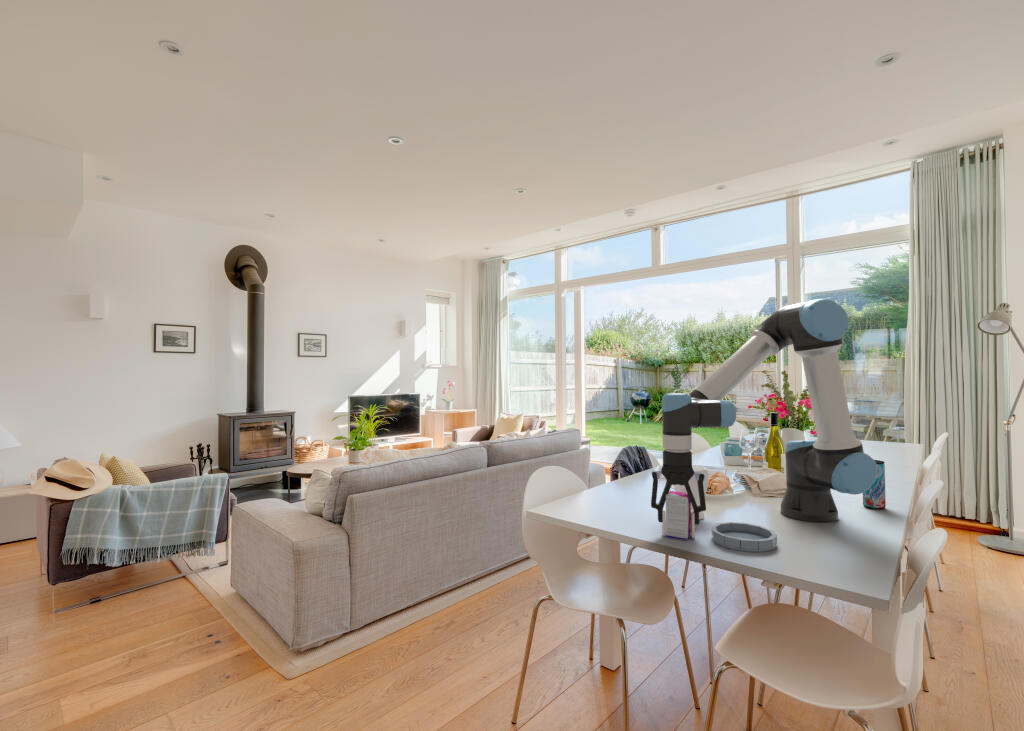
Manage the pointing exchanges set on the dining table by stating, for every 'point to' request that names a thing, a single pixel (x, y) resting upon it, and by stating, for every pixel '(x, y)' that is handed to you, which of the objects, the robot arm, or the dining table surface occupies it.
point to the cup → (695, 486)
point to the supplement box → (678, 515)
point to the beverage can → (876, 490)
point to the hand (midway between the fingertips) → (678, 535)
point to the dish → (744, 537)
